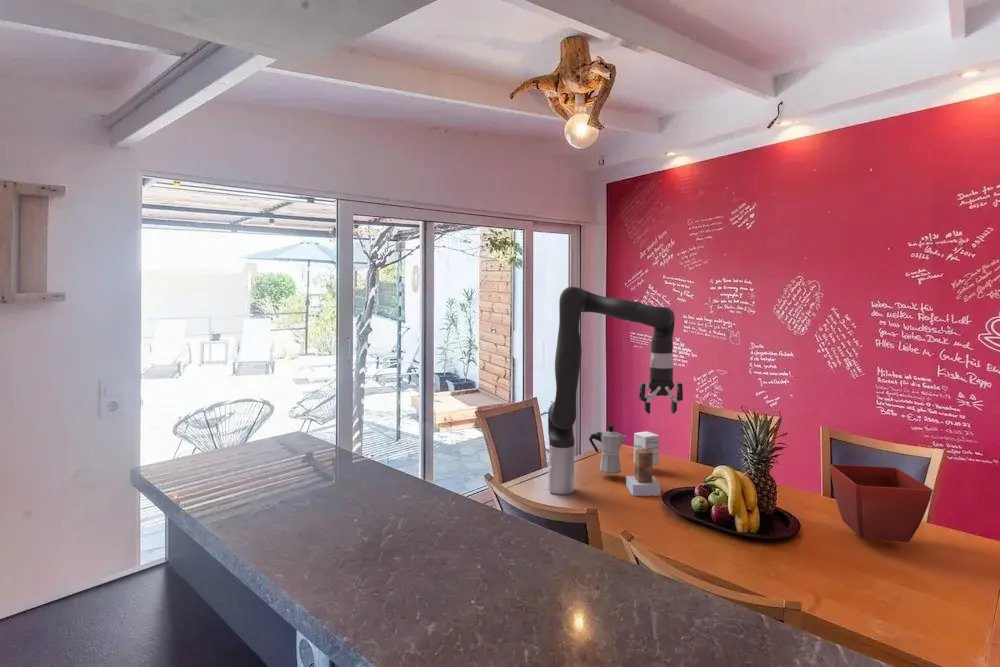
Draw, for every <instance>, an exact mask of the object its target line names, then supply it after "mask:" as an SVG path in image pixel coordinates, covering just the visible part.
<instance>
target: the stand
mask: <svg viewBox="0 0 1000 667" xmlns="http://www.w3.org/2000/svg"><path fill="white" fill-rule="evenodd" d="M625 477H626V478H625V479H626V480H625V482H626V484H625V486H627V487H626V488H627V489H629V490H628V491H629V493H631V496H633V497H655V496H656V497H657V496H658V497H660V496H661V492H662V491H661V487H662V485H661V483H659V481H658V480H657V478H655V476H654V475H652V483H638V481H637V480H636V479H635V475H626V476H625ZM651 495H652V496H651Z"/></svg>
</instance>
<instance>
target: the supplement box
mask: <svg viewBox="0 0 1000 667" xmlns="http://www.w3.org/2000/svg"><path fill="white" fill-rule="evenodd" d="M633 435H634V436H633V463H634V464H635V449H649V450H650V451H651V452H652V453H653V467H655V466H659V456H660V454H659V451H660V434H656V433H653V432H651V431H639V432H634V434H633Z"/></svg>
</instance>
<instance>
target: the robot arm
mask: <svg viewBox="0 0 1000 667" xmlns="http://www.w3.org/2000/svg"><path fill="white" fill-rule="evenodd" d="M558 302H559V307H558V308H559V310H558V311H559V312H558V313H559V314H558V315H559V320H558V321H559V324H558V332H557V341H556V347H555V348H556V349H555V357H554V358H555V359H554V375H555V376H554V377H555V378H554V379H555V385H556V387H555V389H556V390H555V398H554V401H553V402H552V403H551V404H550V406H549V408H548V411H547V412H548V413H547V425H548V426H547V427H548V428H547V433H548V443H549V444H548V451H549V452H548V461H549V462H548V472H547V473H548V474H547V475H548V477H547V478H548V483H547V484H548V486H547V488H548V490H549V491H548V492H549V493H550V494H555V495H570V494H573V493H574V491H575V436H574V429H573V428H574V427H573V426H574V424H575V422H576V419H577V389H578V382H579V378H580V377H579V376H580V370H581V369H580V368H581V362H582V351H583V350H582V340H581V334H580V320H581V313H595V314H600V315H601V314H602V315H604V316H607V317H612V318H615V319H619V320H622V321H627V322H631V323H638V324H639V323H640V324H642V325H645V326H648V327H653V335H652V338H651V342H650V343H651V344H650V358H649V381H648V383H645V382H640V384H639V392H638V394H639V395H638V399H639V400H640V401H642V402H644V411H645V412H646V414H649V415H650V414H651V401H652V399H654V398H655V396H656V397H660V396H663V397H666V396H668V397H669V398H670V400H671V401H670V402H671V403H670V412H671V413H672V414H676V412H677V411H678V402H680V401H681V402H682V401H684V395H683V394H684V393H683V392H684V391H683V384H682V383H681V382H680V381H678V382H673V380H674V356H673V355H674V354H673V353H674V352H673V350H674V345H673V344H674V343H673V342H674V341H673V336H674V331H675V330H674V329H675V320H676V316H675V313H674V311H673V309H671V308H670V307H667V306H656V305H649V304H645V303H643V302H639V301H633V300H630V299H629V300H628V299H622V298H617V297H616V298H615V297H607V296H602V295H600V294H599V295H598V294H596V293H592V292H591V291H587V290H585V289H583V288H582V287H577V286H569V287H566V288H564V289H563V290H562V292H561V293H560V295H559V300H558ZM648 388H649V389H650V390H649V391H648V392H647V395H646V390H647V389H648ZM674 388H675V390H676V396H675V394H674V393H673V392H672V390H673V389H674Z"/></svg>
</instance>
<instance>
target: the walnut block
mask: <svg viewBox="0 0 1000 667" xmlns="http://www.w3.org/2000/svg"><path fill="white" fill-rule="evenodd" d="M634 466H635V467H634V476H635V479H636V480H637V481H638V483H652V476H653V470H654V469H653V468H654V466H653V453H652V452H651V451H650V450H649V449H635V463H634Z"/></svg>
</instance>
